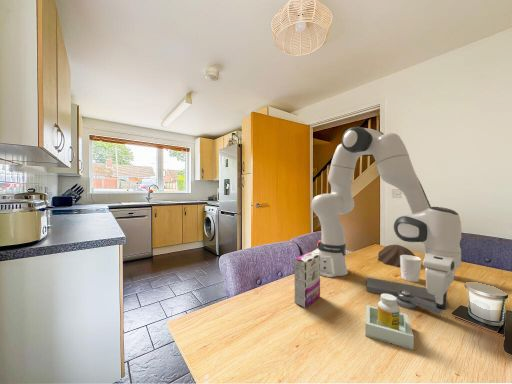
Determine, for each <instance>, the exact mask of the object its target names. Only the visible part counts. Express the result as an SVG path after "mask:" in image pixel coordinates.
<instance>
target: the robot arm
mask: <svg viewBox="0 0 512 384" xmlns="http://www.w3.org/2000/svg"><path fill="white" fill-rule="evenodd" d="M332 156H333V157H332V159H331V163H330V167H329V171H328V175H327V181H328V183H329V184H330V193H321V194H318V195H316V196H314V197H313V198H312V201H311V204H310V205H311V210H312V212H313V213H314V215H316V216H317V218H318V220H319V222H320V229H321V230H320V231H321V239H319V240H318V242H317V243H316V247H317V248H316V249H314V250H313V251H311V252H312V253H316V254H320V276H324V277H328V278H334V277H342V276H346V275H347V274H349V271H348V268H347V263H346V261H347V260H346V255H347V254H346V253H347V246H346V241H345V240H346V239H345V237H346V236H345V235H346V234H345V233H346V229H345V226H344V225H343V224H342V223H341V221H340V217H339V215H346V214H348V213H350V212H352V211H353V210H354V208H355V200H354V198H353V196H352V183H353V178H354V173H355V169H356V167H357V162H358V160H359V158H360V157H362V156H363V157H370V156H371V157H372V156H373V158H374V160H375V165H376V170H377V172H378V174H379V176H380V178H381V179H382V181H383V182H385V183H387V184H389V185H391V186H393V187H394V188H396V189H398V190H399V191H401V192H402V193H403V195H404V196H405V199H406V201H407V204H408V206H409V209H410V212H411V213H409V214H405V215H402V216H400V217H398V218H396V220H395V221H394V224H393V230H394V232H395V235H396V237H397V238H399V239H400V240H401V241H403V242H406V243H423V244H424V258H423V261H422V266H423V267H425V270H424V271H425V272H424V273H425V288H427V291H428V293H430V294H433V295H435V301H436V303H438V304H443V303H444V298H443V295H444V294H445V292H446V291H447V292H448V291H449V288H450V286H451V285H452V283H453V281H455V280H454V277H455V271H456V269H458V268H461V267H462V248H461V245H460V244H461V243H460V242H461V240H462V221H461V217H460V215H459V213H458V212H457V211H455V210H453V209H450V208H446V207H441V206H440V207H439V206H432V205H431V204H430V201H429V199H428V196H427V194H426V193H425V189H424V188H423V185H422V183H421V181H420V179H419V177H418V175H417V174H416V171H415V169H414V166H413V163H412V161H411V158H410V155H409V151H408V150H407V147H406V144H405V143H404V142H403V140H402V138H401V136H400V135H398V134H397V133H395V132H387V133H384V132H382V131H381V130H380V131H378V130H376V129H372V128H370V127H368V128H365V127H361V126H353V127H350V128H348V129H347V130H345V132H344V133H343V135H342V138H341V143H340V144H338V145H337V147H336V148H335V151H334V153H333V155H332ZM447 298H448V294H447V295H446V299H447Z"/></svg>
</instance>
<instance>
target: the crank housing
mask: <svg viewBox="0 0 512 384" xmlns="http://www.w3.org/2000/svg"><path fill="white" fill-rule="evenodd" d="M399 291H407V292H409V293H411V294H413V295H414V296H416V297H419V298H422V299H424V300H427V301H430V302H432V303H435V304H436V301H435V295H433V294H430V293H428V291H427V288H426V287H423V286H417V285H412V284H406V283H400V282H396V281H395V282H394V281H390V280H383V279H378V278H373V277H366V292H368V293H374V294H379V295H381V294H390V295H393V296H395V297H396V298H397V303H396V304H397V305H398V307H399V306H400V307H402V308H404V309H409V310H414V309H416V308H417V305H415V304H412V303H409V302H404V301H402V300H400V299H398V297H397V293H398V292H399ZM446 309H448V301H447V300H446Z"/></svg>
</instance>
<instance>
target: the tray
mask: <svg viewBox="0 0 512 384" xmlns="http://www.w3.org/2000/svg"><path fill="white" fill-rule="evenodd" d="M365 305H366V306H365V308H366V309H365V337H368V338H371V339H374V338H375V340H378V341H382V342H385V343H388V344H391V343H392V345H395V346H399V347H402V348H404V349H405V348H406V349H408V348H409V349H408V350H412V351H413V350H414V347H415V346H414V341H415V339H414V333H413V330H412V326H411V323H410V319H409V316H408V314H406V313H404V312H403V313H402V312H399V330H395V329H391V328H387V327H384V326H380V325H378V306H373V305H368V304H365Z"/></svg>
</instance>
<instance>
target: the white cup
mask: <svg viewBox="0 0 512 384" xmlns="http://www.w3.org/2000/svg"><path fill="white" fill-rule="evenodd" d="M421 265H422V258H421V257H419V256H416V255H415V256H411V255H400V266H401V267H400V277H401V279H402V280H405V281H407V282H413V283H418V282H420V275H421Z"/></svg>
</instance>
